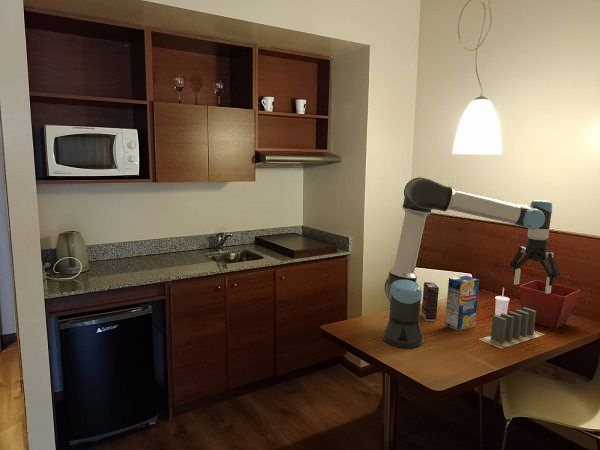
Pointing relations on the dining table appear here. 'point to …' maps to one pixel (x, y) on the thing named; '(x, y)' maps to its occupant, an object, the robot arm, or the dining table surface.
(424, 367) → the dining table surface
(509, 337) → the domino
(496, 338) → the domino
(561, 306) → the plant pot
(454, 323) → the beverage box
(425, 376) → the dining table surface
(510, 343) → the board
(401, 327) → the robot arm
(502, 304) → the beverage cup
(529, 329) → the domino
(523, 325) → the domino
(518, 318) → the domino
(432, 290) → the supplement box
